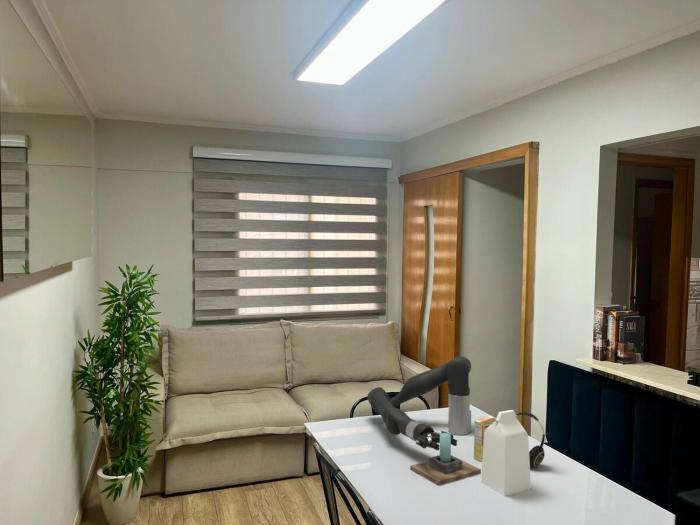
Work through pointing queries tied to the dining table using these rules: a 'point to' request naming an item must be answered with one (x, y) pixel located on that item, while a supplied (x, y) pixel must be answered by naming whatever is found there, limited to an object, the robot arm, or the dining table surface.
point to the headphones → (536, 452)
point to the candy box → (480, 435)
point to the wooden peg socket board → (444, 470)
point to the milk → (506, 455)
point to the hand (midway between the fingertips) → (447, 445)
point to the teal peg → (445, 447)
